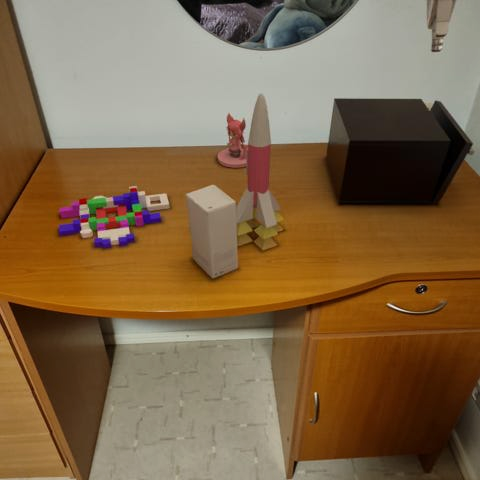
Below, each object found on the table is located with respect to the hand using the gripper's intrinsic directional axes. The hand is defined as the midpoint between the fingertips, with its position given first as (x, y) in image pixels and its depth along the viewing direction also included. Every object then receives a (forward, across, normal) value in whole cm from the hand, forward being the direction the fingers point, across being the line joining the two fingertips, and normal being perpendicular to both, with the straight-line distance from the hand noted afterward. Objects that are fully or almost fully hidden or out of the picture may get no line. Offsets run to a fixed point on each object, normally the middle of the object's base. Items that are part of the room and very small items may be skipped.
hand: (438, 43), depth 80 cm
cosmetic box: (+39, -2, +39) cm, 55 cm away
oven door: (+22, +43, -3) cm, 48 cm away
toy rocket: (+33, +10, +33) cm, 48 cm away
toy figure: (+16, +37, +47) cm, 62 cm away
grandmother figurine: (+13, +59, 0) cm, 60 cm away
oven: (+22, +39, +10) cm, 45 cm away
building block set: (+31, +4, +65) cm, 72 cm away
